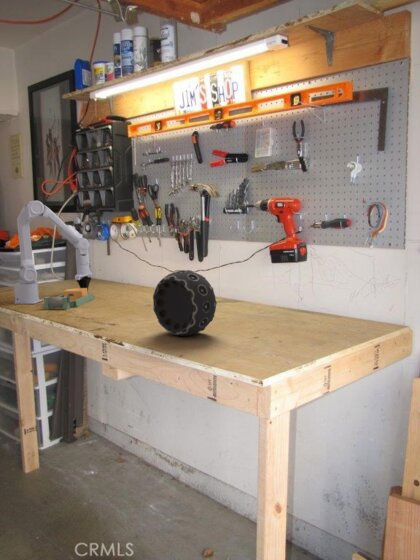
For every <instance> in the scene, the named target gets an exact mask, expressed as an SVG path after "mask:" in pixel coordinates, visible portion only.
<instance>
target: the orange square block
mask: <svg viewBox="0 0 420 560" xmlns="http://www.w3.org/2000/svg"><path fill="white" fill-rule="evenodd" d="M63 294H64V297H67V294H74V296H70V300H71V301H75V300H77V299H79V298H82V297H84V296H86V295H88V293H87V288H80V287H76V288H75V287H73V288H68V289H65V290H63Z"/></svg>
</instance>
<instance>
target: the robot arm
mask: <svg viewBox="0 0 420 560" xmlns="http://www.w3.org/2000/svg"><path fill="white" fill-rule="evenodd" d="M37 217H42V218H44V219H45V218H46V219H47V220H48V221H50V222H51V223H52V224H53V225H55V226H56V227H57V228H58V229H59V230H60V231H61V232H60V233H61V236H63V237H64V238H65V239H66V240H67V241H68V242H69V243H70V244H71V245H73V247H74V248H75V263H76V265H75V266H76V275H74V280H75V281H76V282H77V284H78V286H79V288H87V293H88V292H89V286H90V283H91V280H92V277H91V276H93V272H92V271H91V270H90V254H89V249H90V246H91V244H90V242H89V239H88V238H85V237H84V234H82V233H80V232H79V231H77V229H76V226H74V225H70V224H66V223H65V222H64V221H63V220H62V219H61V218H59V216H58V215H57V214H55V212H54V211H52V210H51V208H49V207H48V206H46V205H45V204H43V202H41V201H40V200H30V201H28V202H27V203H25V204H24V205H23V207H22V209H21V211H20V213H19V214H18V217H17V218H16V222H17V223H16V225H17V233H18V234H17V235H18V243H19V252H20V254H19V255H20V268H19V271H18V275H19V277H20V279H21V280H20V281H19V282H16V283H15V284H14V288H13V293H14V305H15V304H16V305H17V304H18V305H21V304H22V305H25V304H26V305H28V304H29V305H34V304H38V303H40V302H42V301H43V302H44V298H42V299H40V297H39V296H40V295H39V294H40V293H39V285H38V284H39V282H38V280H37V278H38V272H37V270H36V268H35V263H34V259H33V248H32V239H31V228H30V223H31V222H32V221H33V220H34V219H35V218H37Z"/></svg>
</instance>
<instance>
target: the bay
mask: <svg viewBox="0 0 420 560" xmlns="http://www.w3.org/2000/svg"><path fill="white" fill-rule="evenodd" d="M70 296H74V294H67V297H64V293H62V294H59V295H57V296H45V297H43V306H44V310H51V309H52V308H62V309H64V311H65V310H66V309H67V310H69V309H70V308H78V307H80V306H83V304H86V303H89V302H91V301H93V300H95V293H94V292H91V293H89V294H88V295H86V296H84V297H82V298H79V299H77V300H75V301H71V300H70Z"/></svg>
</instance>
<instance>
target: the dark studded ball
mask: <svg viewBox="0 0 420 560" xmlns="http://www.w3.org/2000/svg"><path fill="white" fill-rule="evenodd" d="M214 290H215V289H214V287H212V285H211V283H210V281H208V279H206V277H205V276H204V275H202V274H199V273H197V272H195V271H192V270H190V269H188V270H177V271H173V272H170V273H168V274H167V275H166V276H163V278H162V279H160V280H159V282H158V283H157V284H156V286H155V289H154V292H153V294H152V301H153V304H152V305H153V307H152V310H153V312H154V314H155V316H156V319H157V322H158V323H159V324H160V325H159V326H161V327H162V328H164V329H165V331H167V332H168V333H170V334H172V335H175V336H180V337H181V336H192V335H195V334H198V333H199V332H203V331H205V329H206V328H207V327H208V326H209V324H210V323H211V322H213V321H214V318H215V315H216V314H215V313H216V310H217V309H216V307H217V305H218V304H217V303H218V302H217V300H216V294H215V291H214Z"/></svg>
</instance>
